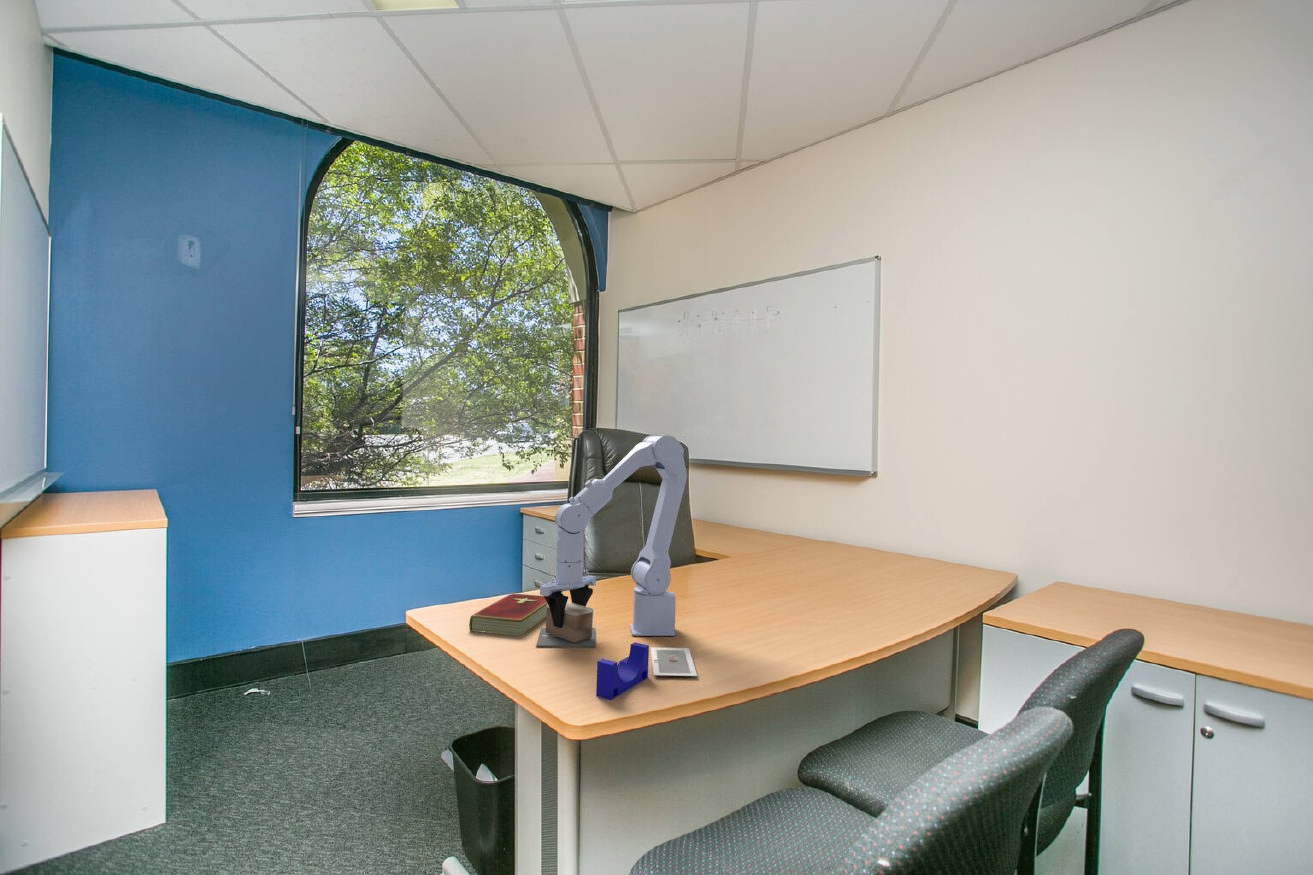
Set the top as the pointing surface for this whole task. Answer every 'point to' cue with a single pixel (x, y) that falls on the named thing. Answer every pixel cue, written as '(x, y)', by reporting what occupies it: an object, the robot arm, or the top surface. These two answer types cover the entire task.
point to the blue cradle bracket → (622, 672)
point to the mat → (562, 640)
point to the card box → (572, 623)
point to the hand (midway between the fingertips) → (567, 623)
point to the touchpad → (672, 662)
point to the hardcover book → (510, 615)
